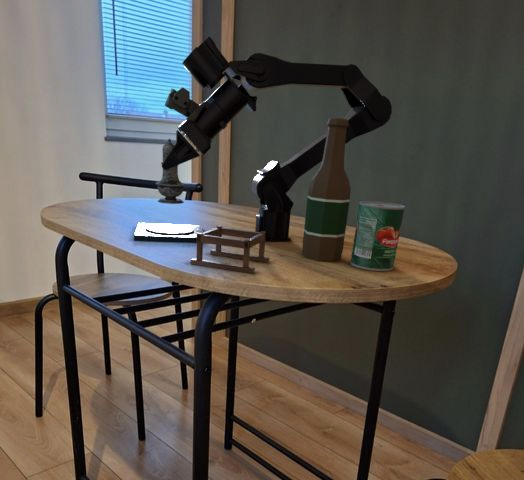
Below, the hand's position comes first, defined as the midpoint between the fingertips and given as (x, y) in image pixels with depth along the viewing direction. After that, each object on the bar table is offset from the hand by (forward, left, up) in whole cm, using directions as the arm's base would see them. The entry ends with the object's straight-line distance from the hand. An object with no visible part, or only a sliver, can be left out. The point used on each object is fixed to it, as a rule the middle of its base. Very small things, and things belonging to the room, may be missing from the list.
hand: (163, 167), depth 94 cm
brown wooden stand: (-8, +24, -13) cm, 29 cm away
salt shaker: (-1, 0, -7) cm, 7 cm away
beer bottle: (-27, +20, -13) cm, 36 cm away
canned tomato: (-34, +27, -13) cm, 46 cm away
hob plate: (-1, 0, -13) cm, 13 cm away
